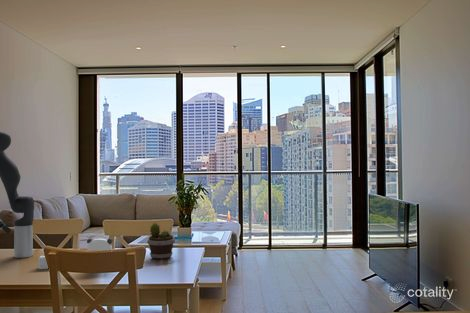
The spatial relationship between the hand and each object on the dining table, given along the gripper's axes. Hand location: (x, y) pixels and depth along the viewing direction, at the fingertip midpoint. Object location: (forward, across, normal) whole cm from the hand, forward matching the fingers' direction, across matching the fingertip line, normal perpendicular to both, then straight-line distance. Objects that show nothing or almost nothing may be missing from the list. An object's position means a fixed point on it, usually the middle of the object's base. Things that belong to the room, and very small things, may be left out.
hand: (9, 231), depth 209 cm
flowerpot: (+64, -18, -36) cm, 76 cm away
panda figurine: (+39, -25, -12) cm, 48 cm away
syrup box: (+20, -4, +2) cm, 20 cm away
